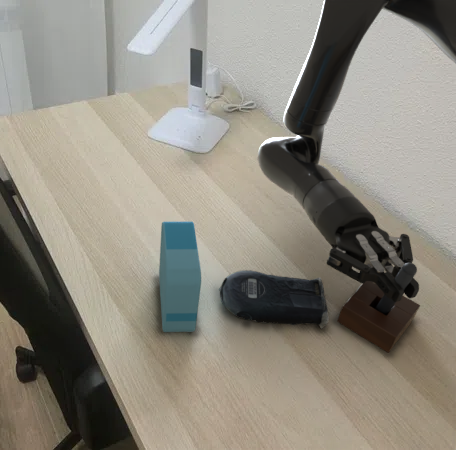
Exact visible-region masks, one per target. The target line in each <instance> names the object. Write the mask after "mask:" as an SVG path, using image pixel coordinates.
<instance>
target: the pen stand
mask: <svg viewBox="0 0 456 450" xmlns="http://www.w3.org/2000/svg"><path fill="white" fill-rule="evenodd" d="M383 296H384V293H383V291H382V290H381V289H380V288H379V287H378V285H377V284H374V283H372V282H371V281H366V282H365V283H361V284H360V286H359V287H357V290H355V292H354V293H352V294H351V296H350V297H349V298H348V299H347V300H346V302H345V303H344V304H343V305H342V306H341V309H340V312H339V315H338V317H337V320H336V322H337V323H339V324H341V325H342V326H344V327H345V328H346V329H349V330H350V331H352V332H353V333H355V334H357V335H359V336H360V337H361V338H364V339H365V340H367V341H368V342H370V343H371V344H373V345H375V346H377V347H378V348H379V349H381V350H383V351H385V352H387V353H390V351H391V350H392V349H393V348H394V347H395V345H396V344H397V342H398V341H399V340H400V338H401V337H402V335H403V334H404V333H405V331H406V330H407V329H408V327H409V326H410V324H411V323H412V322H413V321H414V318H415V316H416V315H417V313H418V311H419V309H420V307H421V305H420V304H419V303H417V302H415V301H414V300H412V299H411V298H408V297H407V296H404V295H403V296H402V298H401V300H400V301H397V302H396V303H395V304H394V306H393V307H392V309H391V310H390V312H389V313H388V314H387V315H384V314H383V313H381V312H379V311H377V310H376V309H375V308H376V306H377V305H378V303H379V302H380V300H381V299H382V297H383Z"/></svg>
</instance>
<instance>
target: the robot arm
mask: <svg viewBox="0 0 456 450" xmlns="http://www.w3.org/2000/svg"><path fill="white" fill-rule="evenodd" d="M382 10H384V11H386V12H387V13H391V14H392V15H395V16H397V17H398V18H400V19H402V20H405V21H406V22H408V23H410V24H411V25H413V26H415V27H416V28H418V29H419V30H420V32H422V33H423V34H425V36H426V37H427V38H428V39H430V41H431V42H432V43H434V44H435V46H436V47H437V48H438V49H439V50H440V51H441V52H442V53H443V54H444V55H445V56H446V57H448V58H449V60H451V61H452V62H453V63H454V64H456V0H324V1H323V5H322V9H321V14H320V18H319V21H318V25H317V29H316V32H315V35H314V39H313V42H312V45H311V48H310V50H309V53H308V55H307V57H306V60H305V62H304V63H303V66H302V69H301V71H300V74H299V76H298V78H297V81H296V82H295V85H294V87H293V91H292V93H291V96H290V98H289V100H288V103H287V106H286V108H285V110H284V113H283V117H282V118H283V119H282V121H283V126H284V127H285V128H286V130H288V131H289V132H290V133H292V134H294V135H296V136H284V137H283V136H279V137H277V136H276V137H271V138H268V139H266V140H265V141H263V143H261V145H260V146H259V148H258V151H257V163H258V166H259V169H260V171H261V172H262V174H263V175H264V176H265V178H267V179H268V180H269V181H270V182H271V183H272V184H273V185H275V186H277V187H278V188H279V189H281V190H282V191H284V192H286V193H287V194H288V195H291V196H293V197H294V199H295V201H297V203H298V204H299V205H300V206H301V207H302V209H303V210H304V212H305V214H306V215H307V217H308V218H309V220H310V221H311V223H312V224H313V225H314V226H315V228H316V229H317V231H318V232H319V233H320V235H322V237H323V238H324V239H325V240H326V242H327V243H328V244H329V245H330V247H331V248H330V250H329V253H328V255H327V259H326V265H327V266H328V267H331V268H332V269H334V270H336V271H338V272H339V273H341V274H343V275H344V276H347V277H349V278H351V279H352V280H354V281H356V282H358V283H359V284H363V283H365V282H366V281H371V282H372V283H374V284H377V285H378V287H379V288H380V289H381V290H382V291H383V293H384V294H385V295H386V296H387V297H388V298H389V299H392V300H393V301H394V302H397V301H400V300H401V298H402V296H404V295H405V297H406V298H408V299H413V298H416V297H417V295H418V292H419V291H420V284H419V282H418V281H417V279H415V277H413V278H412V280H411V281H410V283H409V284H408V286H407V287H406V288H405V290H403V289H402V287H401V286H400V285H399V284H398V283H397V282H396V281H395V277H396V276H397V274H398V272H399V271H400V269H401V268H402V266H403V265H404V264H405V263H413V262H414V256H413V250H412V245H411V238H410V236H409V235H408V234H407V233H401V234H400V235H399V237H398V236H392V235H390V234H389V233H388V232H387V231H386V230H383V229H382V228H381V227H380V226H379V224H378V223H377V220H376V217H375V216H374V214H373V213H372V212H371V211H370V210H369V209H368V208H367V207H366V206H365V205H364V204H363V203H362V202H361V201H360V199H358V197H357V196H356V195H355V194H354V193H353V192H352V191H351V190H350V189H349V188H348V187H346V186H345V185H343V184H342V183H341V182H340V180H339V179H338V178H337V177H336V176H335V175H334V174H333V173H332V171H330V170H329V169H328V168H327V167H325V166H324V165H322V164H321V163H320V161H321V156H322V148H323V147H322V146H323V141H324V135H325V129H326V126H327V124H328V121H329V120H330V117H331V115H332V113H333V110H334V108H335V106H336V104H337V102H338V100H339V97H340V95H341V92H342V90H343V87H344V84H345V82H346V78H347V74H348V72H349V68H350V66H351V64H352V61H353V58H354V56H355V54H356V52H357V50H358V48H359V46H360V45H361V42H362V40H363V39H364V37H365V35H366V34H367V33H368V30H369V29H370V28H371V26H372V25H373V23H374V22H375V21H376V19H377V17H378V16H379V15H380V13H381V11H382ZM354 269H356V270H354Z"/></svg>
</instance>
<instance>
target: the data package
mask: <svg viewBox="0 0 456 450" xmlns="http://www.w3.org/2000/svg"><path fill="white" fill-rule="evenodd" d="M160 229H161V230H160V250H159V251H160V252H159V265H158V267H159V268H158V269H159V270H158V278H159V279H158V280H159V281H158V282H159V297H160V299H159V300H160V313H161V314H160V315H161V327H162V328H161V329H162V332H164V333H193V332H195V331H196V328H197V320H198V311H199V304H200V303H199V302H200V295H201V287H202V270H201V269H202V268H201V263H200V255H199V248H198V242H197V235H196V229H195V223H194V222H193V221H162V222H161V228H160Z"/></svg>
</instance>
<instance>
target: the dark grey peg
mask: <svg viewBox="0 0 456 450" xmlns="http://www.w3.org/2000/svg"><path fill="white" fill-rule="evenodd" d="M417 272H418V267H417V265H416V264H415V263H413V262H412V263H405V264H404V265H403V266H402V268H401V269H400V271H399V272H398V274H397V276H396V277H395V281H396V282H397V283H398V284H399V285H400V286H401V287H402V289H403V290H405V288H406V287H407V286H408V284H409V283H410V281H411V280H412V278H415V275H416V274H417ZM395 303H396V302H394V301H393V300H392V299H389V298H388V297H387V296H386V295H385V294H384V296H383V297H382V299H381V300H380V302H379V303H378V305H377V306H376V308H375V309H376V310H377V311H379V312H381V313H383V314H384V315H387V314H388V313H389V312H390V310H391V309H392V307H393V306H394V304H395Z"/></svg>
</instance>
